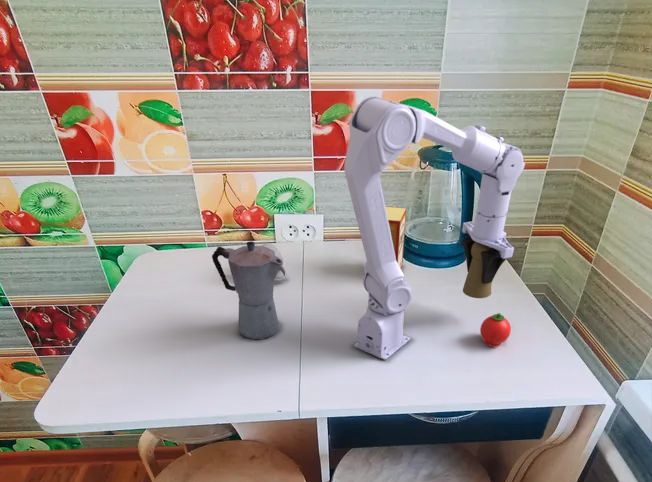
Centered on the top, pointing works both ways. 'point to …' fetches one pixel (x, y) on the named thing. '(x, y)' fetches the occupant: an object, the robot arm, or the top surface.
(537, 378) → the top surface
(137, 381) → the top surface
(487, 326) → the tomato
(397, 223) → the baking soda box
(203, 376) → the top surface
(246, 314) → the moka pot
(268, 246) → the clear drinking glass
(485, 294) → the tan rounded tall piece
